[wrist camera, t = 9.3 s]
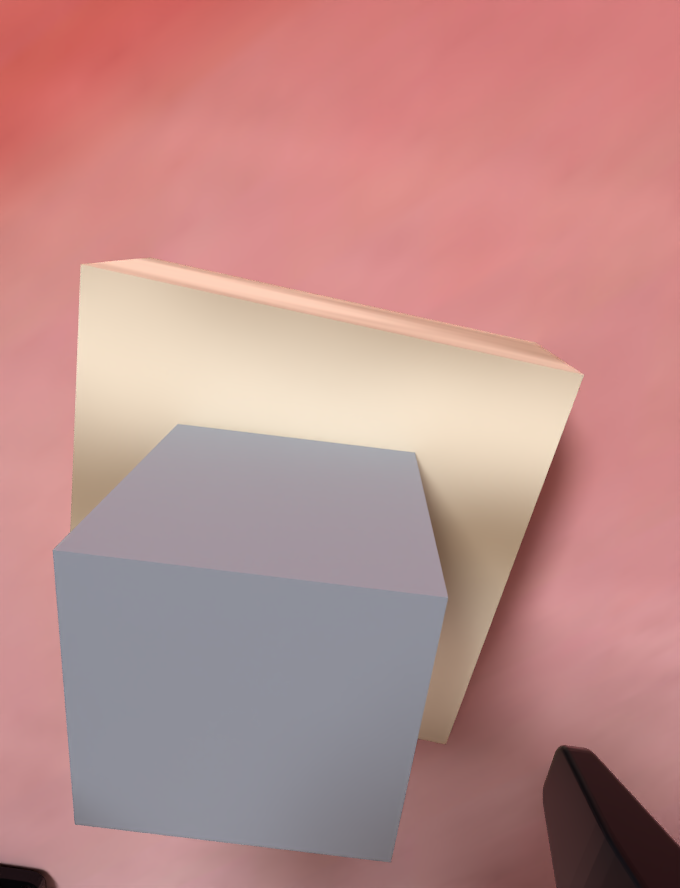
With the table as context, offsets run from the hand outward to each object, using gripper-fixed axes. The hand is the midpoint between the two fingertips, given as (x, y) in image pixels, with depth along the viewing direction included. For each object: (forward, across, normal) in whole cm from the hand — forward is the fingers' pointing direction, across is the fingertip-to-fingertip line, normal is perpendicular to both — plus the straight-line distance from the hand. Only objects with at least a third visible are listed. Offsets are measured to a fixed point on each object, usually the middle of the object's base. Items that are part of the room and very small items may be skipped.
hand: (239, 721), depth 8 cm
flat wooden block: (+9, 0, 0) cm, 9 cm away
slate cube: (+5, 0, 0) cm, 5 cm away
